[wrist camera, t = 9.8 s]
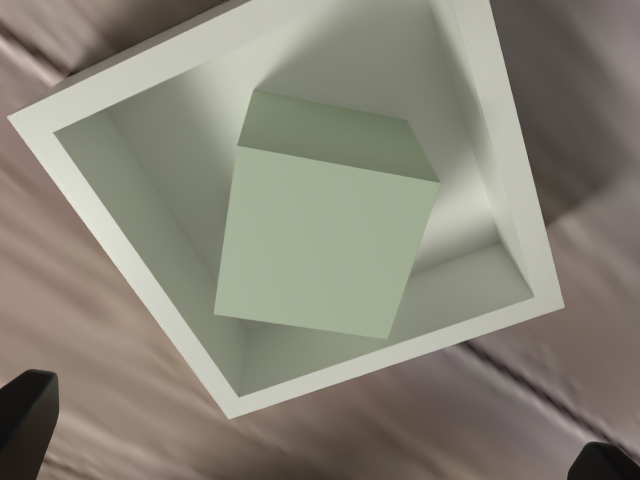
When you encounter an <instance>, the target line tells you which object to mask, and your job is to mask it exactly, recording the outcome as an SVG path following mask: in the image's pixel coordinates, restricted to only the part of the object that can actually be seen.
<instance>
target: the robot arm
mask: <svg viewBox="0 0 640 480" xmlns="http://www.w3.org/2000/svg"><path fill="white" fill-rule="evenodd" d="M58 415H59V388H58V377H57V374H56V373H54V372H51V371H44V370H36V369H30V370H27V371H25V372H23V373H22V374H20V375H19V376H18V377H16V378H15V379H13V380H12V381H11V382H9V383H8V384H6V385H5V386H3V387H2V388H1V389H0V480H36V478H37V475H38V472H39V470H40V467H41V464H42V462H43V459H44V456H45V453H46V451H47V448H48V445H49V442H50V440H51V437H52V434H53V431H54V429H55V426H56V423H57V419H58ZM567 480H640V467H639V466H638V465H637V464H636V463H635V462H634V461H633V460H631V459H630V458H629V457H628V456H627V455H626V454H624V453H623V452H622V451H621V450H620V449H619V448H617V447H616V446H614V445H612V444H609V443H602V442H594V441H593V442H589V443H587V444H586V445H585V446H584V448H583V449H582V451H581V452H580V454H579V455H578V457H577V458H576V460H575V461H574V463H573V464H572V466H571V467H570V469H569V472H568V477H567Z"/></svg>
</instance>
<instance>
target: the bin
mask: <svg viewBox="0 0 640 480" xmlns="http://www.w3.org/2000/svg"><path fill="white" fill-rule="evenodd" d="M253 90H257V91H262V92H267V93H272V94H278V95H283V96H288V97H293V98H298V99H303V100H308V101H313V102H318V103H323V104H328V105H333V106H338V107H343V108H348V109H353V110H358V111H363V112H368V113H373V114H378V115H383V116H389V117H394V118H399V119H404V120H407V122H408V123H409V125H410V127H411V129H412V131H413V133H414V134H415V136H416V138H417V140H418V142H419V144H420V145H421V147H422V149H423V151H424V153H425V155H426V156H427V158H428V160H429V162H430V164H431V166H432V167H433V169H434V171H435V173H436V175H437V177H438V179H439V180H440V182H441V185H440V188H439V191H438V193H437V196H436V199H435V202H434V205H433V208H432V211H431V214H430V217H429V220H428V223H427V225H426V228H425V231H424V234H423V237H422V240H421V243H420V246H419V249H418V252H417V254H416V257H415V260H414V263H413V266H412V269H411V272H410V275H409V278H408V281H407V283H406V286H405V289H404V292H403V295H402V298H401V301H400V304H399V307H398V310H397V313H396V315H395V318H394V321H393V324H392V327H391V330H390V333H389V336H388V339H381V338H374V337H367V336H360V335H353V334H346V333H339V332H332V331H325V330H318V329H312V328H305V327H298V326H291V325H284V324H277V323H270V322H263V321H256V320H249V319H242V318H235V317H228V316H221V315H214V307H215V300H216V292H217V285H218V278H219V271H220V264H221V257H222V250H223V242H224V235H225V228H226V221H227V214H228V207H229V200H230V192H231V185H232V178H233V171H234V164H235V157H236V150H237V144H238V141H239V137H240V134H241V130H242V127H243V123H244V120H245V116H246V113H247V109H248V106H249V102H250V99H251V95H252V92H253ZM7 118H8V119H9V121H10V122H11V123H12V125H13V126H14V127H15V129H16V130H17V132H18V133H19V134H20V136H21V137H22V138H23V140H24V141H25V142H26V144H27V145H28V146H29V148H30V149H31V151H32V152H33V153H34V155H35V156H36V157H37V159H38V160H39V161H40V163H41V164H42V166H43V167H44V168H45V170H46V171H47V172H48V174H49V175H50V176H51V178H52V179H53V181H54V182H55V183H56V185H57V186H58V187H59V189H60V190H61V191H62V193H63V194H64V195H65V197H66V198H67V200H68V201H69V202H70V204H71V205H72V206H73V208H74V209H75V210H76V212H77V213H78V215H79V216H80V217H81V219H82V220H83V221H84V223H85V224H86V225H87V227H88V228H89V230H90V231H91V232H92V234H93V235H94V236H95V238H96V239H97V240H98V242H99V243H100V245H101V246H102V247H103V249H104V250H105V251H106V253H107V254H108V255H109V257H110V258H111V259H112V261H113V262H114V264H115V265H116V266H117V268H118V269H119V270H120V272H121V273H122V274H123V276H124V277H125V279H126V280H127V281H128V283H129V284H130V285H131V287H132V288H133V289H134V291H135V292H136V294H137V295H138V296H139V298H140V299H141V300H142V302H143V303H144V304H145V306H146V307H147V308H148V310H149V311H150V313H151V314H152V315H153V317H154V318H155V319H156V321H157V322H158V323H159V325H160V326H161V328H162V329H163V330H164V332H165V333H166V334H167V336H168V337H169V338H170V340H171V341H172V343H173V344H174V345H175V347H176V348H177V349H178V351H179V352H180V353H181V355H182V356H183V358H184V359H185V360H186V362H187V363H188V364H189V366H190V367H191V368H192V370H193V371H194V372H195V374H196V375H197V377H198V378H199V379H200V381H201V382H202V383H203V385H204V386H205V387H206V389H207V390H208V392H209V393H210V394H211V396H212V397H213V398H214V400H215V401H216V402H217V404H218V405H219V407H220V408H221V409H222V411H223V412H224V413H225V415H226V416H227V417H228V419H232V418H235V417H238V416H241V415H244V414H247V413H250V412H253V411H256V410H259V409H262V408H265V407H268V406H271V405H274V404H277V403H280V402H283V401H286V400H289V399H292V398H295V397H298V396H301V395H304V394H307V393H310V392H313V391H316V390H319V389H322V388H325V387H328V386H331V385H334V384H337V383H340V382H343V381H346V380H349V379H352V378H355V377H358V376H361V375H364V374H367V373H370V372H373V371H376V370H379V369H382V368H385V367H388V366H391V365H394V364H397V363H400V362H403V361H406V360H409V359H412V358H415V357H418V356H421V355H424V354H427V353H430V352H433V351H436V350H439V349H442V348H445V347H448V346H451V345H454V344H457V343H460V342H463V341H466V340H469V339H472V338H475V337H478V336H481V335H484V334H487V333H490V332H493V331H496V330H499V329H502V328H505V327H508V326H511V325H514V324H517V323H520V322H523V321H526V320H529V319H532V318H535V317H538V316H541V315H544V314H547V313H550V312H553V311H556V310H559V309H562V308H565V306H564V302H563V298H562V294H561V290H560V286H559V282H558V278H557V274H556V270H555V266H554V262H553V258H552V253H551V249H550V245H549V241H548V237H547V233H546V229H545V225H544V221H543V217H542V213H541V209H540V205H539V201H538V197H537V193H536V189H535V185H534V180H533V176H532V172H531V168H530V164H529V160H528V156H527V152H526V148H525V144H524V140H523V136H522V132H521V128H520V124H519V120H518V116H517V112H516V107H515V103H514V99H513V95H512V91H511V87H510V83H509V79H508V75H507V71H506V67H505V63H504V59H503V55H502V51H501V47H500V43H499V39H498V34H497V30H496V26H495V22H494V18H493V14H492V10H491V6H490V2H489V0H228V1H226V2H224V3H222V4H220V5H218V6H216V7H213V8H211V9H209V10H207V11H205V12H203V13H201V14H199V15H197V16H195V17H193V18H191V19H188V20H186V21H184V22H182V23H180V24H178V25H176V26H174V27H172V28H170V29H168V30H166V31H163V32H161V33H159V34H157V35H155V36H153V37H151V38H149V39H147V40H145V41H143V42H140V43H138V44H136V45H134V46H132V47H130V48H128V49H126V50H124V51H122V52H120V53H118V54H115V55H113V56H111V57H109V58H107V59H105V60H103V61H101V62H99V63H97V64H95V65H93V66H90V67H88V68H86V69H84V70H82V71H80V72H78V73H76V74H74V75H72V76H70V77H68V78H65V79H64V80H62V81H61V82H59V83H58V84H56V85H55V86H53V87H52V88H50V89H49V90H47V91H46V92H44V93H42V94H41V95H39V96H38V97H36V98H35V99H33V100H32V101H30V102H29V103H27V104H26V105H24V106H23V107H21V108H19V109H18V110H16V111H15V112H13V113H12V114H10V115H9V116H7Z"/></svg>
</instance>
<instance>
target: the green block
mask: <svg viewBox="0 0 640 480" xmlns="http://www.w3.org/2000/svg"><path fill="white" fill-rule="evenodd" d="M440 185H441V182H440V180H439V179H438V177H437V175H436V173H435V171H434V169H433V167H432V166H431V164H430V162H429V160H428V158H427V156H426V155H425V153H424V151H423V149H422V147H421V145H420V144H419V142H418V140H417V138H416V136H415V134H414V133H413V131H412V129H411V127H410V125H409V123H408V122H407V120H404V119H399V118H394V117H389V116H383V115H378V114H373V113H368V112H363V111H358V110H353V109H348V108H343V107H338V106H333V105H328V104H323V103H318V102H313V101H308V100H303V99H298V98H293V97H288V96H283V95H278V94H272V93H267V92H262V91H257V90H253V92H252V95H251V99H250V102H249V106H248V109H247V113H246V116H245V120H244V123H243V127H242V130H241V134H240V137H239V141H238V144H237V150H236V157H235V164H234V171H233V178H232V185H231V192H230V200H229V207H228V214H227V221H226V228H225V235H224V242H223V250H222V257H221V264H220V271H219V278H218V285H217V292H216V300H215V307H214V315H221V316H228V317H235V318H242V319H249V320H256V321H263V322H270V323H277V324H284V325H291V326H298V327H305V328H312V329H318V330H325V331H332V332H339V333H346V334H353V335H360V336H367V337H374V338H381V339H388V336H389V333H390V330H391V327H392V324H393V321H394V318H395V315H396V313H397V310H398V307H399V304H400V301H401V298H402V295H403V292H404V289H405V286H406V283H407V281H408V278H409V275H410V272H411V269H412V266H413V263H414V260H415V257H416V254H417V252H418V249H419V246H420V243H421V240H422V237H423V234H424V231H425V228H426V225H427V223H428V220H429V217H430V214H431V211H432V208H433V205H434V202H435V199H436V196H437V193H438V191H439V188H440Z"/></svg>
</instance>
